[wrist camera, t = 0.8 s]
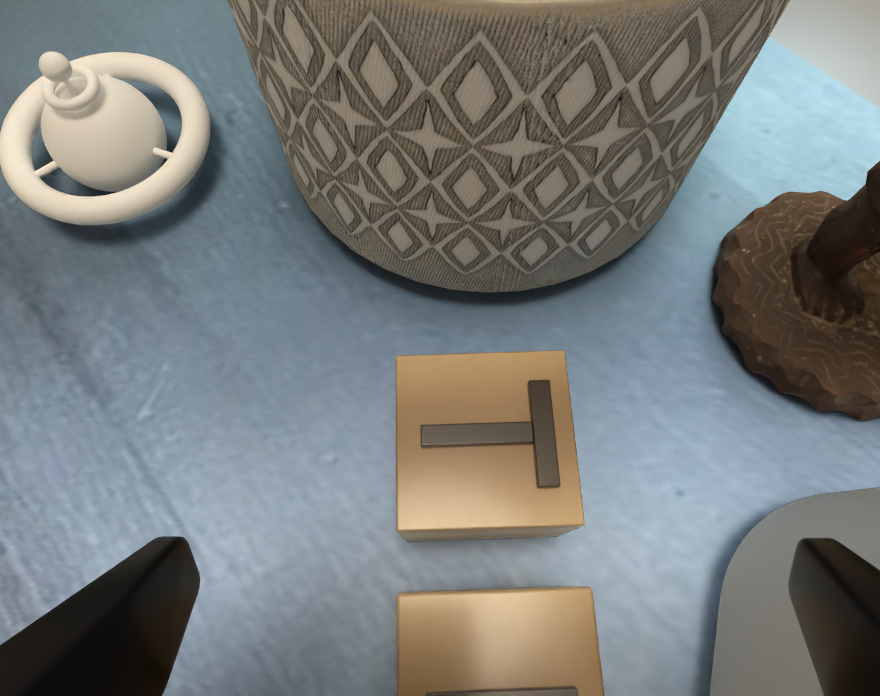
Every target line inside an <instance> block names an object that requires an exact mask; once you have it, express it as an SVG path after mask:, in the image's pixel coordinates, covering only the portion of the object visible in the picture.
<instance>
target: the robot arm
mask: <svg viewBox="0 0 880 696" xmlns="http://www.w3.org/2000/svg"><path fill="white" fill-rule="evenodd" d="M199 587H200V575H199V571H198V568H197V565H196V563H195V560H194V557H193V554H192V551H191V549H190V546H189V543H188V541H187V540H186V539H185V538H184V537H165V536H162V537H158V538H155V539H154V540H152V541H151V542H149V543H148V544H146V545H145V546H144V547H142V548H141V549H139V550H138V551H136V552H135V553H133V554H132V555H130V556H129V557H128V558H126V559H125V560H123V561H122V562H120V563H119V564H117V565H116V566H115V567H113V568H112V569H110V570H109V571H107V572H106V573H104V574H103V575H101V576H100V577H99V578H97V579H96V580H94V581H93V582H91V583H90V584H88V585H87V586H86V587H84V588H83V589H81V590H80V591H78V592H77V593H75V594H74V595H72V596H71V597H70V598H68V599H67V600H65V601H64V602H62V603H61V604H59V605H58V606H57V607H55V608H54V609H52V610H51V611H49V612H48V613H46V614H45V615H43V616H42V617H41V618H39V619H38V620H36V621H35V622H33V623H32V624H30V625H29V626H27V627H26V628H25V629H23V630H22V631H20V632H19V633H17V634H16V635H14V636H13V637H12V638H10V639H9V640H7V641H6V642H4V643H3V644H1V645H0V696H162V695H163V693H164V690H165V688H166V685H167V682H168V680H169V677H170V674H171V672H172V669H173V666H174V663H175V660H176V657H177V654H178V651H179V648H180V645H181V642H182V639H183V636H184V633H185V630H186V627H187V624H188V621H189V618H190V615H191V612H192V609H193V606H194V603H195V600H196V597H197V594H198V591H199ZM788 590H789V595H790V599H791V602H792V605H793V608H794V611H795V614H796V617H797V619H798V622H799V625H800V628H801V631H802V634H803V637H804V640H805V643H806V646H807V648H808V651H809V654H810V657H811V660H812V663H813V666H814V669H815V672H816V674H817V677H818V680H819V683H820V686H821V689H822V692H823V695H824V696H880V570H879V569H878V568H876V567H875V566H873V565H872V564H870V563H869V562H868V561H866V560H865V559H863V558H862V557H860V556H859V555H857V554H856V553H854V552H853V551H852V550H850V549H849V548H847V547H846V546H844V545H843V544H841V543H840V542H838V541H837V540H834V539H832V538H803V539H800V540H799V542H798V543H797V546H796V549H795V553H794V558H793V562H792V566H791V571H790V575H789V580H788Z"/></svg>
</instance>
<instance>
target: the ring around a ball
mask: <svg viewBox="0 0 880 696" xmlns="http://www.w3.org/2000/svg"><path fill="white" fill-rule="evenodd" d="M39 68H40V71H41V72H42V74H43V76H41V77H40V78H39V79H37V80H36V81H35V82H34V83H32V84H31V85H30V86H29V87H28V88H27V89H26V90H25V91H24V92H23V93H22V94H21V95H20V96H19V97H18V99H17V100H16V101H15V103H14V104H13V105H12V107H11V108H10V110H9V112H8V114H7V116H6V118H5V120H4V123H3V126H2V129H1V132H0V166H1V169H2V173H3V175H4V177H5V179H6V181H7V183H8V185H9V187H10V188H11V189H12V190H13V192H14V193H15V194H16V195H17V196H18V197H19V199H20V200H21V201H23V202H24V203H25V204H27V205H28V206H29V207H30V208H32V209H33V210H35V211H37V212H39V213H41V214H43V215H45V216H46V217H49V218H52V219H55V220H58V221H61V222H65V223H71V224H77V225H105V224H113V223H118V222H122V221H126V220H130V219H133V218H136V217H138V216H141V215H144V214H146V213H148V212H150V211H152V210H154V209H156V208H158V207H160V206H161V205H163V204H164V203H166V202H167V201H168V200H170V199H171V198H173V197H174V196H175V195H176V194H178V193H179V192H180V191H181V190H182V189H183V188H184V187H185V186H186V185H187V184H188V183H189V181H190V180H191V179H192V178H193V176H194V175H195V174H196V172H197V170H198V169H199V167H200V165H201V164H202V162H203V159H204V157H205V154H206V151H207V149H208V145H209V139H210V117H209V113H208V108H207V105H206V103H205V101H204V99H203V96H202V94H201V93H200V91H199V90H198V89H197V87H196V86H195V84H194V83H193V82H192V81H191V80H190V79H189V78H188V77H187V76H186V75H185V74H184V73H182V72H181V71H179V70H178V69H176V68H175V67H173V66H172V65H170V64H168V63H166V62H164V61H161V60H159V59H157V58H153V57H150V56H146V55H142V54H135V53H127V52H111V53H100V54H95V55H90V56H85V57H82V58H79V59H76V60H73V61H70V62H69V61H68V59H67V58H66V57H65V56H63V55H62V54H60V53H57V52H46V53H44V54H43V55H42V56H41V57H40V59H39ZM121 80H133V81H140V82H144V83H148V84H151V85H154V86H156V87H158V88H160V89H162V90H163V91H165V92H166V93H168V94H169V95H170V96H171V97H172V98H173V99H174V101H175V102H176V104H177V105H178V107H179V110H180V112H181V117H182V130H181V135H180V139H179V141H178V144H177V146H176V148H175V150H174V151H173V153H171V152H168V151H166V150H167V136H166V131H165V126H164V124H163V121H162V119H161V116H160V115H159V113H158V111H157V110H156V108H155V107H154V105H153V104H152V103H151V102H150V100H149V99H148V98H147V97H146V96H145V95H144V94H142V93H141V92H140V91H139V90H137V89H136V88H134V87H133V86H131V85H130V84H128V83H126V82H123V81H121ZM40 124H41V132H42V137H43V140H44V143H45V146H46V148H47V150H48V152H49V154H50V156H51V157H52V159H53V160H54V161H52V162H50V163H49V164H47V165H45V166H43V167H42V168H40V169H38V170H36V171H35V169H34V166H33V163H32V157H31V150H32V143H33V139H34V136H35V133H36V131H37V129H38V127H39V125H40ZM164 158H166V159H168V160H167V161H166V162H165V163H164V165H163V166H162V163H163V161H164ZM161 166H162V167H161ZM59 167H60V168H61V169H62V170H63V171H64V172H65V173H66V174H67V175H69V176H70V177H71V178H73V179H74V180H76V181H78V182H79V183H81V184H83V185H85V186H88V187H91V188H94V189H97V190H102V191H110V192H117V193H112V194H108V195H103V196H94V197H84V196H74V195H68V194H65V193H62V192H59V191H57V190H55V189H53V188H51V187H49V186H48V185H47V184H45V183H44V182H43V181H42V180H41V179H40V178H41V177H43V176H45V175H47V174H48V173H50V172H52V171H54V170H55V169H57V168H59ZM160 167H161V168H160ZM119 191H120V192H119Z"/></svg>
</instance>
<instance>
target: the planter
mask: <svg viewBox="0 0 880 696" xmlns="http://www.w3.org/2000/svg"><path fill="white" fill-rule="evenodd" d="M789 1H790V0H228V3H229V5H230V8H231V11H232V13H233V16H234V19H235V21H236V24H237V27H238V29H239V32H240V35H241V37H242V40H243V43H244V45H245V48H246V51H247V54H248V56H249V59H250V62H251V64H252V67H253V70H254V72H255V75H256V78H257V80H258V83H259V86H260V88H261V91H262V94H263V96H264V99H265V102H266V105H267V107H268V110H269V113H270V115H271V118H272V121H273V123H274V126H275V129H276V131H277V134H278V137H279V139H280V142H281V145H282V147H283V150H284V153H285V155H286V158H287V161H288V164H289V166H290V169H291V172H292V174H293V177H294V180H295V182H296V185H297V187H298V188H299V190H300V192H301V193H302V195H303V197H304V198H305V200H306V202H307V204H308V205H309V207H310V209H311V210H312V211H313V212H314V213H315V215H316V216H317V217H318V218H319V219H320V220H321V221H322V223H323V224H324V225H325V226H326V227H327V228H328V229H329V231H330V232H331V233H332V234H334V235H335V236H336V237H337V238H339V239H340V240H341V241H342V242H344V243H345V244H346V245H347V246H348V247H350V248H351V249H352V250H353V251H355V252H356V253H358V254H359V255H361V256H363V257H365V258H366V259H368V260H370V261H371V262H373V263H375V264H377V265H378V266H380V267H382V268H384V269H386V270H388V271H391V272H394V273H396V274H399V275H401V276H404V277H406V278H409V279H411V280H414V281H417V282H421V283H425V284H430V285H434V286H438V287H442V288H447V289H451V290H463V291H474V292H486V293H488V292H507V291H523V290H528V289H533V288H538V287H544V286H549V285H554V284H558V283H561V282H564V281H566V280H569V279H572V278H575V277H578V276H580V275H583V274H586V273H589V272H591V271H593V270H594V269H596V268H598V267H600V266H602V265H604V264H605V263H607V262H609V261H611V260H613V259H615V258H616V257H618V256H620V255H621V254H622V253H623V252H625V251H626V250H627V249H628V248H630V247H631V246H632V245H634V244H635V243H636V242H637V241H639V240H640V239H641V238H643V237H644V236H645V234H646V233H647V232H648V231H649V230H650V229H651V228H652V227H653V226H654V224H655V223H656V222H657V221H658V220H659V219H660V218H661V217H662V215H663V214H664V212H665V211H666V209H667V207H668V206H669V204H670V202H671V201H672V199H673V197H674V196H675V194H676V192H677V191H678V189H679V187H680V186H681V184H682V182H683V181H684V179H685V177H686V176H687V174H688V172H689V170H690V169H691V167H692V165H693V164H694V162H695V160H696V159H697V157H698V155H699V154H700V152H701V150H702V148H703V147H704V145H705V143H706V142H707V140H708V138H709V137H710V135H711V133H712V132H713V130H714V128H715V126H716V125H717V123H718V121H719V120H720V118H721V116H722V115H723V113H724V111H725V109H726V108H727V106H728V104H729V103H730V101H731V99H732V98H733V96H734V94H735V93H736V91H737V89H738V87H739V86H740V84H741V82H742V81H743V79H744V77H745V76H746V74H747V72H748V71H749V69H750V67H751V65H752V64H753V62H754V60H755V59H756V57H757V55H758V54H759V52H760V50H761V48H762V47H763V45H764V43H765V42H766V40H767V38H768V37H769V35H770V33H771V32H772V30H773V28H774V26H775V25H776V23H777V21H778V19H779V18H780V16H781V15H782V13H783V11H784V10H785V8H786V6H787V4H788V3H789Z"/></svg>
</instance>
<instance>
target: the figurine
mask: <svg viewBox="0 0 880 696" xmlns="http://www.w3.org/2000/svg"><path fill="white" fill-rule="evenodd" d="M721 245H722V249H723V251H722V253H721V255H720V256H719V258H718V260H717V262H716V265H715V267H714V271H715V273H716V275H717V278H718V282H717V285H716V288H715V290H714V293H713V296H712V299H713V302H715V303H716V304H717V305H718V306H719V308H720V310H721V311H722V313H723V316H724V321H723V326H722V332H723V334H724V335H725V336H727V337H728V338H730V339H731V340H733V341H734V342H735V343H736V345H737V346H738V347H739V350H740V352H741V355H742V358H743V360H744V365H745V367H746V368H747V369H748V370H749V371H750V372H752V373H756V374H760V375H763V376H765V377H766V378H768V379H770V380H771V381H772V382H773V383H774V385H775V386H776V388H777V389H778V391H779V392H780V393H781V394H792V395H795V396H798V397H801V398H802V399H803V400H805V401H806V402H807V403H809V404H810V405H811V406H812V407H813V408H814V409H816V410H820V411H823V412H828V411H834V410H840V411H843V412H845V413H848V414H850V415H852V416H853V417H854V418H856V419H857V420H862V421H866V420H870V419H873V418H877V417H880V161H879V162H878V163H877V164H876V165H874V166H873V167H872V168H871V169H870V170H869V171H868V173H867V179H866V184H865V185H864V186H863V187H862V188H861V189H860V190H859V191H858V192H857V193H856V194H855V195H854V196H853V197H852V198H851V199H850V200H848V201H845V200H842V199H840V198H838V197H836V196H834V195H832V194H830V193H827V192H823V191H818V192H813V193H801V192H787V193H784V194H782V195H780V196H778V197H776V198H775V199H773V200H772V201H771V202H770V203H769V204H767V205H766V206H764V207H761V208H757V209H755V210H754V211H752V212H751V213H750V214H749V215H748V216H747V217H746V218H745V219H744V220H743V221H742V222H741V223H740V224H739V225H737V226H736V227H735V228H733V229H732V230H731V231H730V232H728V233H727V234H726V236H725V237H724V238H723V240H722V242H721Z"/></svg>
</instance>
